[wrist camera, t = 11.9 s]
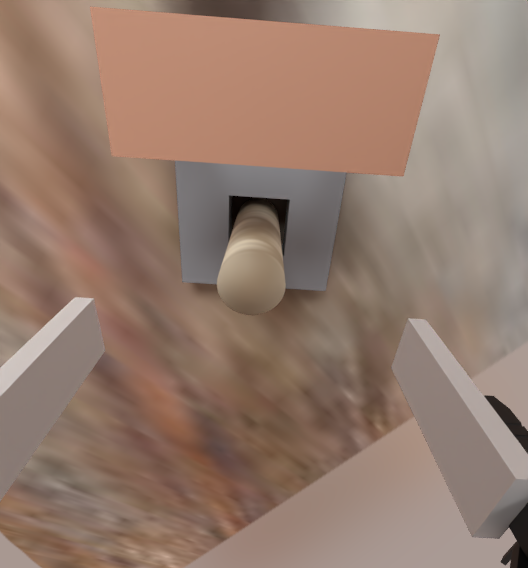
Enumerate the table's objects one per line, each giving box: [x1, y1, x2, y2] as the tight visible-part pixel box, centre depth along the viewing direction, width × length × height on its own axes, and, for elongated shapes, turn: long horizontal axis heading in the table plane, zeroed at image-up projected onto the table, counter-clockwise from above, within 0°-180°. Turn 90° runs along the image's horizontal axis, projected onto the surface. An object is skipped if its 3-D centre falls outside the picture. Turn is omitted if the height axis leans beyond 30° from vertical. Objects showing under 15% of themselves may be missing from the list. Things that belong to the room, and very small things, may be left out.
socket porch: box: [90, 7, 440, 291], centre depth 23 cm, size 18×14×14 cm
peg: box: [217, 198, 286, 315], centre depth 25 cm, size 4×4×14 cm
